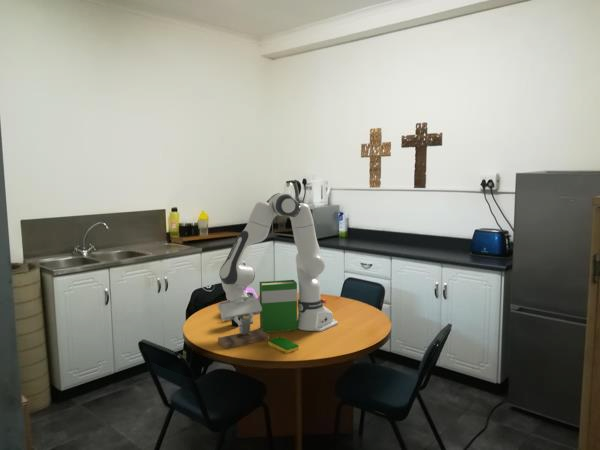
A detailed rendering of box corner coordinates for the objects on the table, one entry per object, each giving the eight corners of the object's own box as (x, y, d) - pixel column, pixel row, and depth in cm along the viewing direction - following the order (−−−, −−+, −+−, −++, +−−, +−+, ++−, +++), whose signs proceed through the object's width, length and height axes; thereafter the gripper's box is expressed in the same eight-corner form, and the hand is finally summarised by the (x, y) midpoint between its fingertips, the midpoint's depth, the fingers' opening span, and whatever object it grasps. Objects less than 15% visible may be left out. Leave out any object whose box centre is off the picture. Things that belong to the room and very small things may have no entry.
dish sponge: (280, 341, 218) (280, 336, 218) (299, 350, 208) (299, 344, 207) (268, 345, 213) (268, 339, 213) (287, 354, 203) (287, 348, 203)
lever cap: (246, 331, 219) (247, 314, 219) (249, 333, 217) (250, 316, 216) (239, 332, 217) (240, 315, 217) (242, 334, 215) (242, 317, 214)
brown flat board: (260, 333, 227) (260, 328, 227) (268, 339, 219) (268, 334, 219) (218, 342, 215) (218, 337, 215) (226, 348, 208) (225, 343, 207)
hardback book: (262, 332, 228) (261, 285, 225) (260, 327, 235) (259, 281, 232) (297, 329, 232) (296, 283, 229) (293, 324, 239) (293, 279, 236)
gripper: (218, 299, 215) (227, 325, 208) (257, 292, 226) (267, 317, 219) (215, 306, 219) (223, 332, 212) (253, 299, 230) (263, 323, 223)
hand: (246, 324), depth 216 cm, fingers closed on lever cap, 4 cm apart
